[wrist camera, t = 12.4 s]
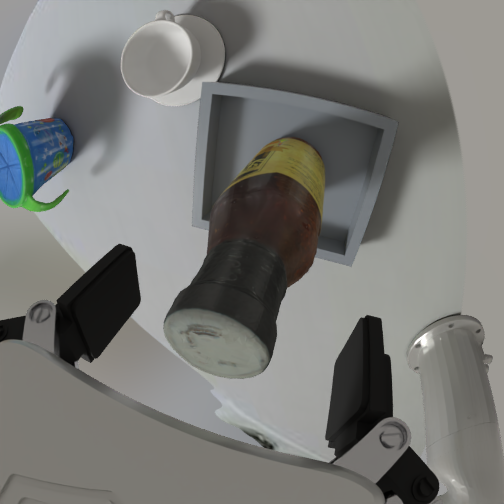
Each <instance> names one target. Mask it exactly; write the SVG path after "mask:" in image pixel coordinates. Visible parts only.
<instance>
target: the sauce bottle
mask: <svg viewBox="0 0 504 504" xmlns="http://www.w3.org/2000/svg"><path fill="white" fill-rule="evenodd" d="M324 190H325V167H324V164H323V161H322V157H321V155H320V154H319V152H318V151H317V150H316V149H315V148H314V147H313V146H312V145H311V144H310V143H308V142H307V141H305V140H303V139H300V138H296V137H286V138H279V139H276V140H274V141H272V142H270V143H268V144H267V145H265V146H264V147H263V148H262V149H261V150H260V151H259V152H258V153H257V154H256V156H255V157H254V158H253V159H252V160H251V161H250V162H249V163H248V164H247V165H246V166H245V168H244V169H243V170H242V171H241V172H240V173H239V174H238V175H237V177H236V178H235V179H234V180H233V181H232V182H231V183H230V185H229V186H228V187H227V188H226V189H225V190H224V192H223V193H222V194H221V195H220V197H219V198H218V199H217V201H216V202H215V204H214V206H213V208H212V210H211V214H210V220H209V237H208V248H207V256H206V258H205V259H204V262H203V265H202V267H201V268H200V270H199V272H198V273H197V275H196V276H195V278H194V279H193V280H192V282H191V284H190V285H189V286H188V287H187V288H185V289H184V290H182V291H180V293H179V294H178V296H177V297H176V299H175V300H174V302H173V305H172V307H171V308H170V310H169V312H168V313H167V316H166V318H165V321H164V327H163V329H164V333H165V337H166V339H167V340H168V342H169V344H170V345H171V346H172V348H173V349H174V350H175V351H176V352H177V353H178V354H179V355H180V356H181V357H182V358H183V359H184V360H186V361H187V362H188V363H189V364H191V365H192V366H194V367H196V368H198V369H200V370H201V371H204V372H207V373H209V374H212V375H215V376H219V377H224V378H238V379H244V378H250V377H254V376H256V375H258V374H261V373H262V372H263V371H264V370H265V369H266V368H267V366H268V365H269V363H270V360H271V358H272V355H273V350H274V346H275V342H276V337H277V325H276V320H277V316H278V312H279V308H280V304H281V301H282V300H283V298H284V296H285V293H286V289H287V287H290V286H291V285H292V284H294V283H296V282H297V281H299V279H301V278H302V277H303V275H305V273H307V272H308V270H309V268H310V267H311V266H312V264H313V261H314V257H315V255H316V253H317V244H318V237H319V235H320V231H321V225H322V215H323V203H324Z"/></svg>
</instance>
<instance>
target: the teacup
mask: <svg viewBox="0 0 504 504" xmlns="http://www.w3.org/2000/svg"><path fill="white" fill-rule="evenodd" d="M224 62H225V47H224V43H223V40H222V37H221V35H220V33H219V32H218V30H217V29H216V28H215V27H214V26H213V25H212V24H211V23H210V22H208V21H207V20H205V19H203V18H201V17H198V16H194V15H178V16H174V15H173V14H172V13H171V12H170V11H167V10H164V11H160V12H158V13H157V14H156V17H155V21H152V22H149V23H147V24H145V25H143V26H142V27H140V28H139V29H138V30H136V31H135V32H134V33H133V34H132V36H131V37H130V38H129V40H128V41H127V43H126V45H125V47H124V49H123V52H122V56H121V72H122V76H123V79H124V81H125V83H126V84H127V86H128V87H129V88H130V89H131V90H132V91H133V92H134V93H136V94H138V95H140V96H143V97H148V98H151V99H152V100H154V101H155V102H157V103H159V104H162V105H166V106H183V105H187V104H190V103H193V102H195V101H197V100H199V99H200V98H201V89H202V82H217V81H218V79H219V77H220V75H221V73H222V70H223V67H224Z"/></svg>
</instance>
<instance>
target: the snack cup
mask: <svg viewBox="0 0 504 504" xmlns="http://www.w3.org/2000/svg"><path fill="white" fill-rule="evenodd" d="M22 112H23V107H22V106H17V107H14V108H11V109H9V110H7V111H5V112H4V113H2V114H1V115H0V124H2V123H4V122H7V121H9V120H14V119H17V118H19V117H20V116H21V115H22ZM73 142H74V141H73V136H72V135H71V132H70V130H69V128H68V126H67V125H66V124H65V123H64V122H63V120H61V119H58V118H48V119H41V120H35V121H29V122H24V123H18V124H15V125H14V124H4V125H1V126H0V198H1V200H2V201H3V202H4V203H5V204H7V205H8V206H9V207H12V208H18V207H23V208H25V209H27V210H29V211H34V212H41V211H46V210H49V209H52V208H54V207H55V206H56V205H58V204H59V203H60V202H61V201H62V199H63V198H64V197H65V196H66V194H67V193H68V192H69V190H68V189H67V190H66V191H65V192H64V193H63V194H62V195H60V196H59V197H58V198H56V199H55V201H53V202H51V203H43V202H39V201H36V200H35V199H34V198H33V197H32V196H33V195H34V194H35V193H36V191H37V190H38V189H39V188H40V187H41V186H42V185H43V184H44V183H46V182H47V181H48V180H50V179H51V178H52V177H54V176H55V175H56V174H57V173H59V172H60V171H61V170H63V169H64V168H65V167H66V166H67V165H68V164H69V163H70V159H71V157H72V153H73Z"/></svg>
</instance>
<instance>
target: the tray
mask: <svg viewBox="0 0 504 504" xmlns="http://www.w3.org/2000/svg"><path fill="white" fill-rule="evenodd" d="M398 123H399V122H398V121H396V120H394V119H391V118H389V117H386V116H383V115H380V114H377V113H374V112H371V111H368V110H364V109H361V108H357V107H354V106H350V105H347V104H343V103H339V102H335V101H331V100H327V99H323V98H319V97H314V96H310V95H305V94H300V93H295V92H290V91H284V90H278V89H272V88H266V87H259V86H252V85H244V84H235V83H225V82H202V89H201V98H200V108H199V118H198V130H197V142H196V155H195V170H194V187H193V209H192V226H193V227H197V228H201V229H205V230H209V220H210V214H211V210H212V208H213V206H214V204H215V202H216V201H217V199H218V198H219V197H220V195H221V194H222V193H223V192H224V190H225V189H226V188H227V187H228V186H229V185H230V183H231V182H232V181H233V180H234V179H235V178H236V177H237V175H238V174H239V173H240V172H241V171H242V170H243V169H244V168H245V166H246V165H247V164H248V163H249V162H250V161H251V160H252V159H253V158H254V157H255V156H256V154H257V153H258V152H259V151H260V150H261V149H262V148H263V147H264V146H265V145H267V144H268V143H270V142H272V141H274V140H276V139H279V138H286V137H296V138H300V139H303V140H305V141H307V142H308V143H310V144H311V145H312V146H313V147H314V148H315V149H316V150H317V151H318V152H319V154H320V155H321V157H322V161H323V164H324V167H325V190H324V203H323V215H322V225H321V231H320V235H319V237H318V244H317V253H316V255H315V257H316V258H320V259H324V260H328V261H332V262H336V263H339V264H343V265H347V266H352V264H353V261H354V259H355V256H356V254H357V251H358V249H359V246H360V244H361V241H362V238H363V236H364V233H365V230H366V227H367V225H368V222H369V219H370V216H371V213H372V210H373V208H374V205H375V202H376V199H377V196H378V193H379V189H380V186H381V183H382V180H383V177H384V174H385V170H386V167H387V164H388V160H389V157H390V153H391V150H392V146H393V143H394V139H395V135H396V131H397V127H398Z"/></svg>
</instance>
